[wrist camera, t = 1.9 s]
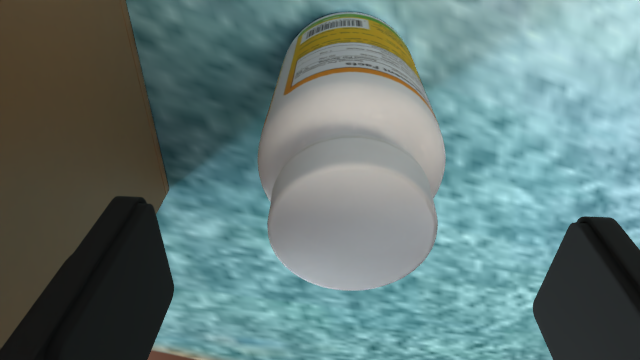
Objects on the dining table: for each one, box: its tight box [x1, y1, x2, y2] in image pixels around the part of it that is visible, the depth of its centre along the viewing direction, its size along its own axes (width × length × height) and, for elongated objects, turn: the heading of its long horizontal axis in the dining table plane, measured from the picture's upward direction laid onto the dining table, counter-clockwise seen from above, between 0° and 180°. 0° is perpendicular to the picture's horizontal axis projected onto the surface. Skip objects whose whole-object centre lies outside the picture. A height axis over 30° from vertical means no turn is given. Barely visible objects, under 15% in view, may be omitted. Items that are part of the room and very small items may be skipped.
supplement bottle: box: [258, 12, 445, 290], centre depth 14 cm, size 5×5×10 cm
